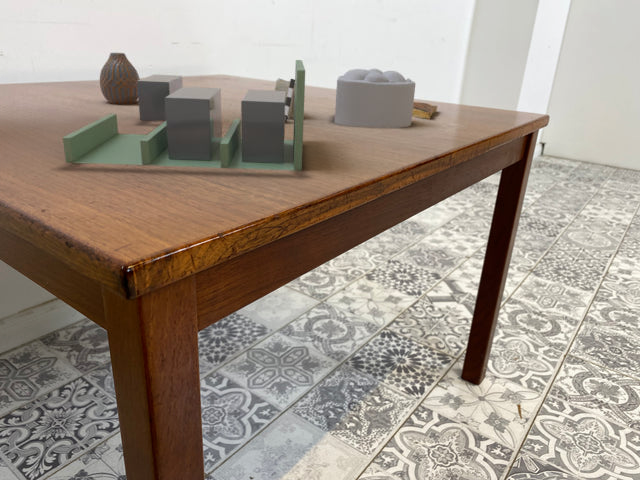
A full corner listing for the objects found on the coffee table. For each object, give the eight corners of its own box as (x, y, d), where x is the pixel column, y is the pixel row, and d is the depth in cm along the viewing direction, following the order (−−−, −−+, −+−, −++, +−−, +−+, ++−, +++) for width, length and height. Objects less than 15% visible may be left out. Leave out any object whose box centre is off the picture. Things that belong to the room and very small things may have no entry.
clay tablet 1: (168, 159, 56) (164, 97, 53) (185, 140, 65) (183, 86, 63) (210, 160, 56) (209, 99, 54) (222, 141, 65) (220, 88, 63)
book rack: (66, 171, 53) (51, 58, 49) (112, 141, 67) (103, 50, 63) (301, 179, 55) (305, 70, 51) (299, 148, 69) (302, 60, 64)
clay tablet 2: (241, 162, 56) (241, 100, 54) (248, 142, 66) (248, 89, 63) (283, 163, 57) (284, 102, 54) (284, 144, 66) (285, 91, 63)
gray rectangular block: (140, 126, 77) (136, 80, 74) (156, 115, 86) (153, 74, 84) (171, 127, 77) (168, 82, 75) (184, 116, 86) (182, 75, 84)
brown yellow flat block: (429, 120, 95) (430, 110, 94) (388, 116, 97) (389, 106, 96) (438, 113, 104) (439, 104, 103) (400, 109, 106) (401, 100, 106)
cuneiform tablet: (285, 124, 84) (258, 111, 94) (309, 128, 86) (280, 115, 96) (294, 79, 82) (266, 71, 92) (318, 85, 84) (288, 76, 94)
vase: (127, 100, 100) (122, 51, 97) (149, 104, 96) (146, 54, 93) (94, 102, 95) (88, 51, 91) (117, 107, 91) (111, 54, 88)
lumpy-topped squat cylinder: (336, 116, 94) (339, 65, 91) (408, 120, 94) (413, 70, 91) (333, 126, 85) (336, 70, 82) (413, 131, 84) (420, 75, 81)
